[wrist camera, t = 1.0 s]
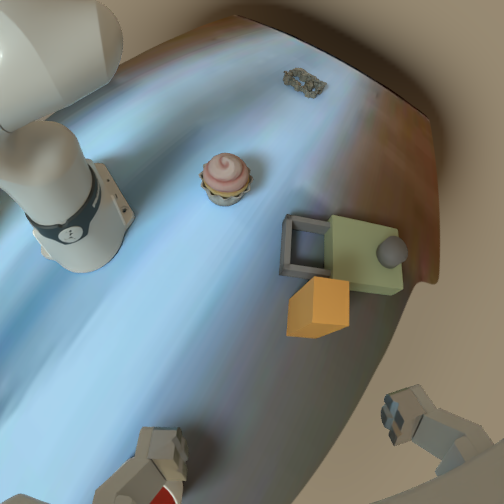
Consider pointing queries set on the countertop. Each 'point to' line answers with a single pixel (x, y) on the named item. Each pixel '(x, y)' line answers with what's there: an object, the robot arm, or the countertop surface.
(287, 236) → the green drawer box
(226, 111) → the countertop surface
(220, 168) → the cupcake
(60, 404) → the countertop surface
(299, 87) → the rocky terrain model
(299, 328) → the tall orange pillar
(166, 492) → the cup
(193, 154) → the countertop surface
